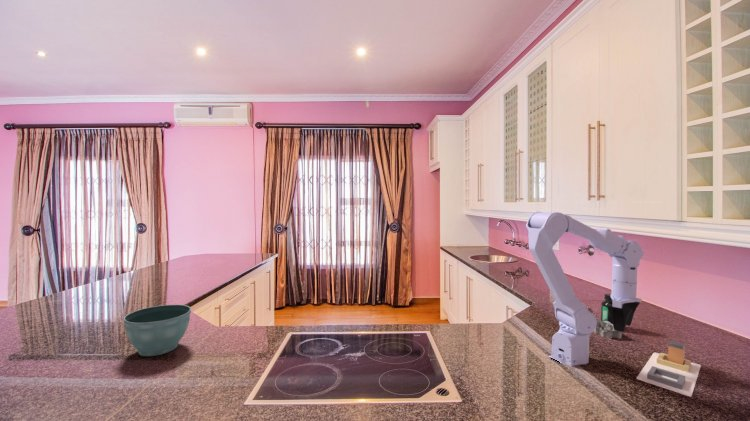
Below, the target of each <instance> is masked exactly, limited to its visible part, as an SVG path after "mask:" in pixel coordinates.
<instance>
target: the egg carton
mask: <svg viewBox="0 0 750 421" xmlns="http://www.w3.org/2000/svg"><path fill="white" fill-rule="evenodd" d="M593 333H595V334H599V335H600V337H603V338H605V339H610V340H611V339H612V338H615V339H619V340H621V339H622V338H623V332H621V331H617V330H614V326H613V324H611V323H610V322H609V321H601V320H599V321H598V320H597V325H596V328H595V330H594V331H593Z"/></svg>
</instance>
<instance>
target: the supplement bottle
mask: <svg viewBox="0 0 750 421" xmlns="http://www.w3.org/2000/svg"><path fill="white" fill-rule="evenodd" d="M610 296H611V293H604V300H603V301H601V303H600V321H609V322H610V323H611V324H613V322H612V317H611V315H610V312H609V310H608V309H607V304H608V303H609V304H613V300H612V298H611V297H610Z"/></svg>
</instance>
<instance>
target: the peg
mask: <svg viewBox="0 0 750 421" xmlns="http://www.w3.org/2000/svg"><path fill="white" fill-rule="evenodd" d="M685 348H686V346H685V343H682V342H678V341H675V340H669V342H668V347H667V349H668V352H667V354H668V361H670V362H674V363H677V364H681V365H684V359H685V354H686V353H685Z"/></svg>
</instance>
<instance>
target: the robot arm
mask: <svg viewBox="0 0 750 421" xmlns="http://www.w3.org/2000/svg"><path fill="white" fill-rule="evenodd" d="M525 227H526V229H527V232H528V234H527V236H528V248H529V251H530V253H531V255H532V257H533V259H534V261H535V263H536V265H537V267H538V269H539V271H540V273H541V275H542V277H543V279H544V281H545V282H546V285H547V287H548V288H549V291H550V293H551V295H552V297H553V298H554V301H553V303H552V306H553V308H554V317H555V318H556V320H557V321H558V325H559V329H558V331H557V332H555V333H554V334H553V335H552V338H551V355H548V358H549V357H551V358H553V359H555V360H557V361H559V362H560V363H559V362H558V363H559V364H561V363H562V364H565V365H567V366H569V367H575V366H578V365H587V364H589V359H590V358H589V357H590V335H592V333H594V330H595V328H596V325H597V321H598V320H597V318H596V317H597V316H595V314H594V313H592V312H591V311H590V310H589V309H588V307H587V306H586V304H585V303H584V302H582V301H581V300H580V299H579V298H578V297H577V295H576V293H575V291H574V290H573V287H572V286H571V284H570V281H569V280H568V278H567V275H566V274H565V272H564V270H563V267H562V265H561V264H560V262H559V260H558V257H557V256H556V254H555V252H554V250H553V248H554V246H555V245H556V244H557V242H558V241H559V240H560V239H561V238H562V236H564V234H565V233H571V234H573V235H576V236H578V237H581V238H583V239H586V240H588V241H589V244H590V246H591V247H593V248H595V249H598V250H600V251H602V252H604V253H607V254H608V256H609V257H610V258H612V264H611V266H612V268H611V271H612V272H611V291H610V292H611V293H610V294H611V296H610V297H611V298H612V300H613V304H609V303H608V304H607V309H608V310H609V312H610V315H611V317H612V322H613V326H614V330H617V331H621V332H622V333H624V332H625V330H626V327H627V326H628V327H630V326H631V324H632V323H633V319H634V315H635V313H636V310H637V308H638V307H639V305H640V303H641V302H643V300H642V298H639V297H637V287H638V286H637V283H638V268H639V267H640V263H641V262H640V261H641V259H642V258H643V256H644V255H645V254H644V253H645V251H644V250H643V247H642V246H641V244H640V243H638V242H637V241H634V240H629V239H628V240H627V239H626V238H625V236H623V235H617V234H615V233H613V232H612V230H611V229H610V228H603V227H602V228H598V229H594V228H592V227H590V226H589V225H586V224H585V223H583V222H581V221H579V220H577V219H575V218H573V217H572V216H570V215H567V214H564V213H562V212H560V211H559V212H557V211H555V212H554V211H553V212H543V211H536V212H533V213H532V214H530V216H529V217H528V219H527V221H526V224H525ZM551 358H550V359H551ZM553 359H552V360H553ZM555 360H554V361H555ZM557 361H556V362H557Z"/></svg>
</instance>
